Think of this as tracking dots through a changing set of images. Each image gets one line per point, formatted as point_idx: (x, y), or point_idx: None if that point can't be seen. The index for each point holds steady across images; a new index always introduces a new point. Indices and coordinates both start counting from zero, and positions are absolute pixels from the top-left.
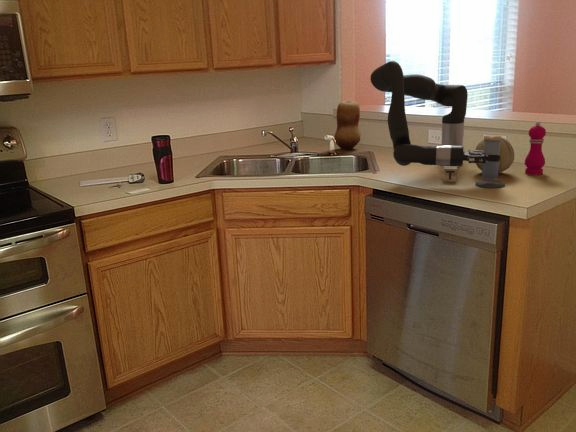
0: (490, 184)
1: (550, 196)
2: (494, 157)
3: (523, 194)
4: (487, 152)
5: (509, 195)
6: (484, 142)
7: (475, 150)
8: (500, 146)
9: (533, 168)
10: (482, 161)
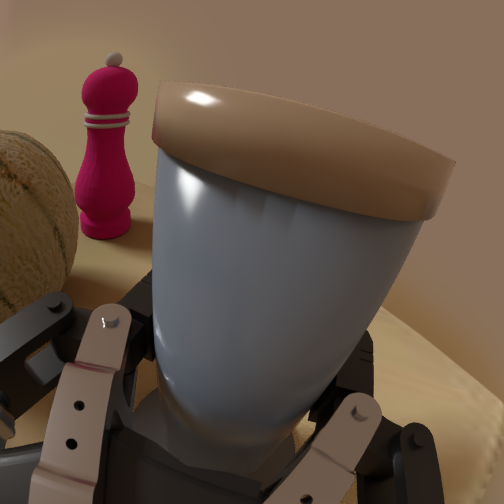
0: None
1: (403, 324)
2: (369, 360)
3: (395, 379)
4: (332, 376)
5: None
6: (312, 270)
7: (53, 427)
8: (39, 177)
9: (117, 214)
10: (389, 483)
